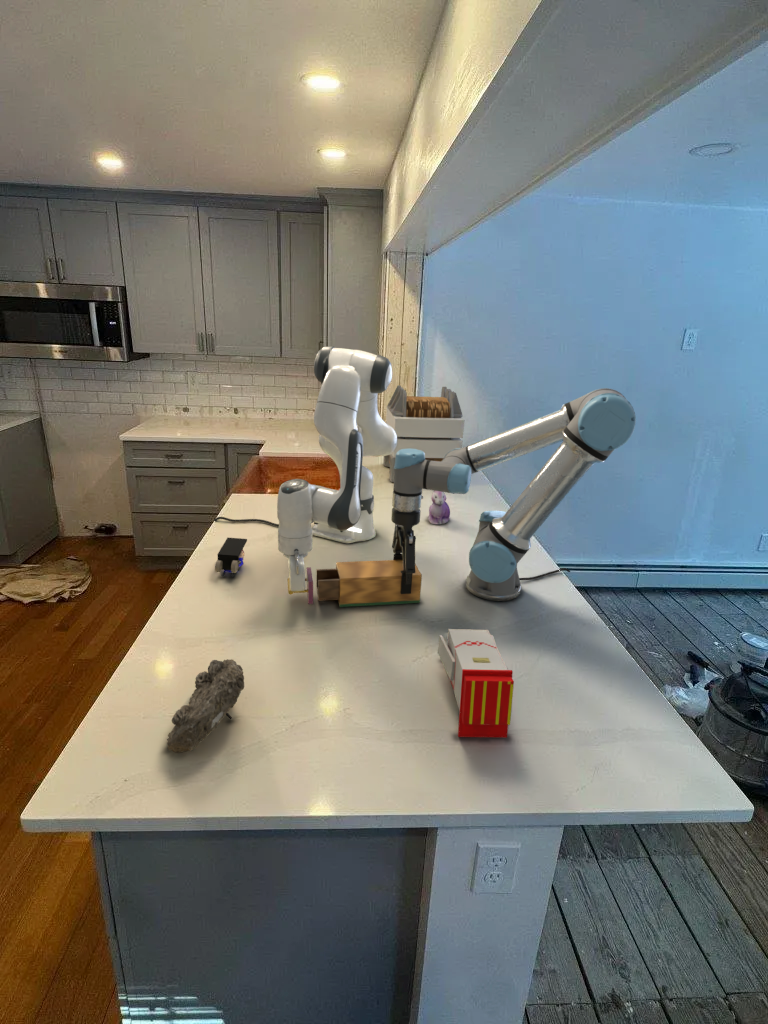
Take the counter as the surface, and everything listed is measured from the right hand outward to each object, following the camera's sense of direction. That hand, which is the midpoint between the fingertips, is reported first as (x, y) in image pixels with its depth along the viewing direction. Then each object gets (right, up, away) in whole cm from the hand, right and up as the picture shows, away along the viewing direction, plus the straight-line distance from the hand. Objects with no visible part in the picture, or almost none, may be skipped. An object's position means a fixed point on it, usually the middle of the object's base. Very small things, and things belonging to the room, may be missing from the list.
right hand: (401, 584), depth 156 cm
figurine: (+16, +16, +58) cm, 62 cm away
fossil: (-38, -19, -48) cm, 64 cm away
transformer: (+13, +39, +119) cm, 126 cm away
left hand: (-28, -1, -5) cm, 29 cm away
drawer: (-18, -3, -3) cm, 18 cm away
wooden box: (-7, -3, 0) cm, 7 cm away
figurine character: (-50, +3, +11) cm, 51 cm away
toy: (+13, -18, -38) cm, 44 cm away
